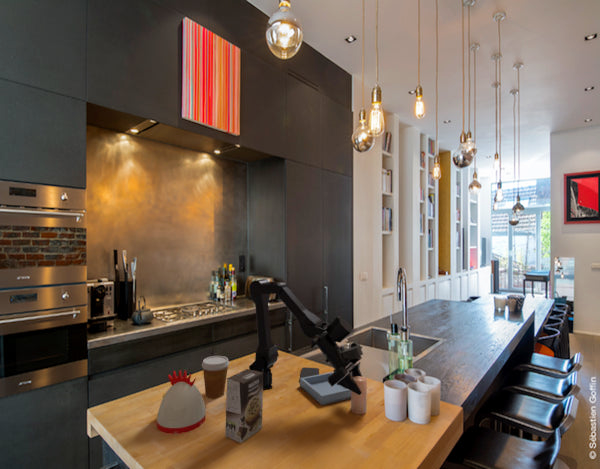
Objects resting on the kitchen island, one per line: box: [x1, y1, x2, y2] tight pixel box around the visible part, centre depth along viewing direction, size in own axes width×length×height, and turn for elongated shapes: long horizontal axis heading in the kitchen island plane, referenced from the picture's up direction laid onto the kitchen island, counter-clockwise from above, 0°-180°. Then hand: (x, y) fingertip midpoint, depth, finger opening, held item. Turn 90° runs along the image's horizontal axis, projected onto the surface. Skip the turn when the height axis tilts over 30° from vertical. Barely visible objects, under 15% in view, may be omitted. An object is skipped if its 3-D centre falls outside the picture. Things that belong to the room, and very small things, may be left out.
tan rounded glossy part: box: [350, 376, 368, 415], centre depth 109 cm, size 5×5×10 cm
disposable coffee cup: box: [201, 355, 230, 399], centre depth 119 cm, size 10×10×12 cm
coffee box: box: [224, 368, 264, 444], centre depth 96 cm, size 9×6×16 cm
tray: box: [299, 371, 351, 406], centre depth 123 cm, size 16×16×3 cm
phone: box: [298, 366, 320, 384], centre depth 136 cm, size 7×1×15 cm
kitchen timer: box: [156, 369, 207, 435], centre depth 102 cm, size 14×14×15 cm
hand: (363, 390), depth 109 cm, fingers closed on tan rounded glossy part, 5 cm apart
